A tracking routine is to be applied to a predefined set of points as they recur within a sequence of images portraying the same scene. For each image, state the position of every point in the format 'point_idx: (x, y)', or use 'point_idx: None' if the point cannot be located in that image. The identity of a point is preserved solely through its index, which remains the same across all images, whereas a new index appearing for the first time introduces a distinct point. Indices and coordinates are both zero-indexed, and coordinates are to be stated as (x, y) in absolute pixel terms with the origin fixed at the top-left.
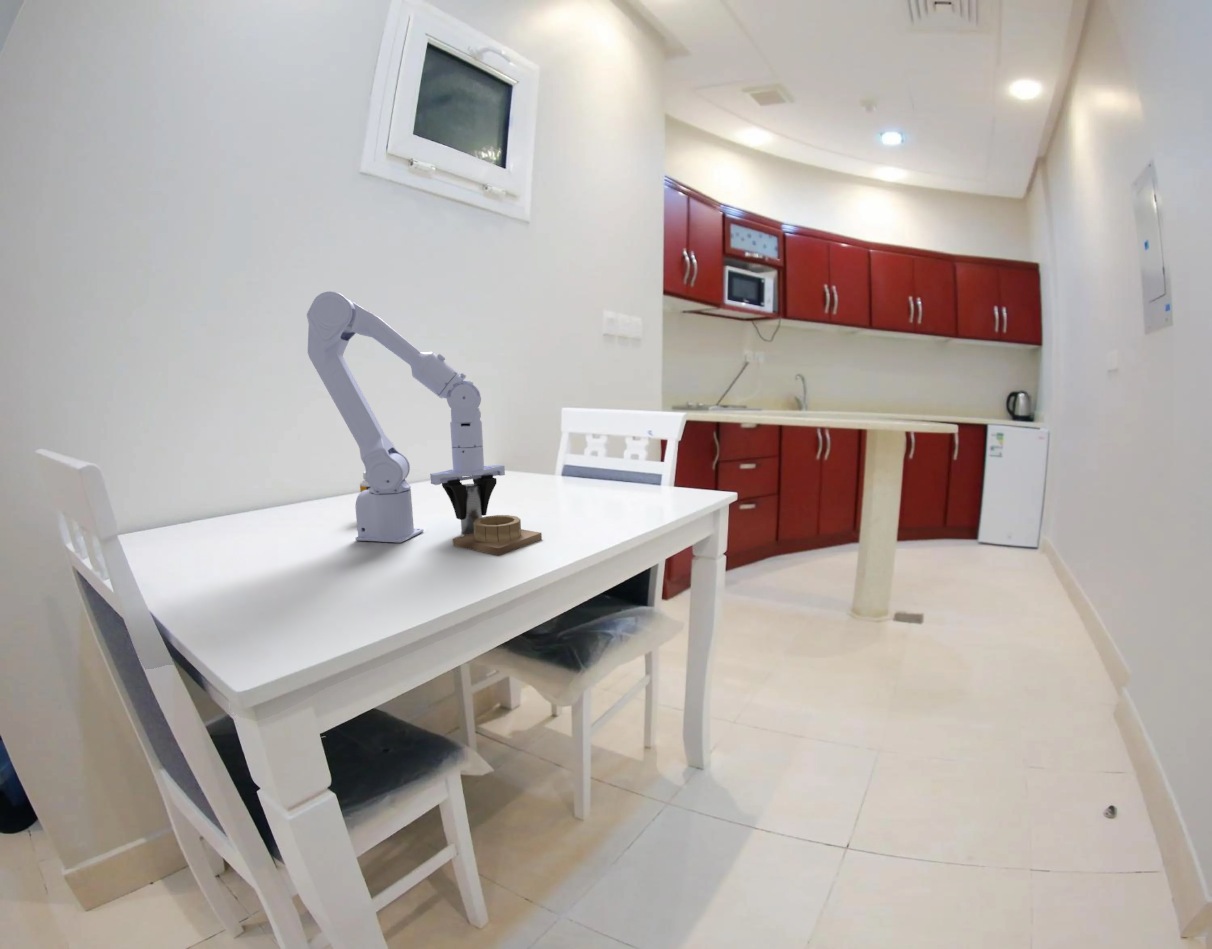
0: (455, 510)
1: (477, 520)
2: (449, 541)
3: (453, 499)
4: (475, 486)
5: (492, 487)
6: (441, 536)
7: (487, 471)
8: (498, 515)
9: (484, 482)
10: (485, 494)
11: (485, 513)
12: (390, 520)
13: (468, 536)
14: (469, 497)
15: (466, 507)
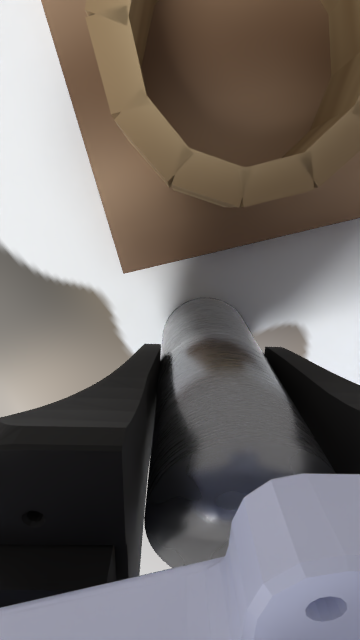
0: None
1: (336, 151)
2: (348, 278)
3: None
4: (237, 457)
5: (61, 406)
6: (320, 360)
7: (37, 631)
8: (165, 165)
9: (129, 474)
10: (141, 389)
11: (147, 345)
12: None
13: (335, 189)
14: (279, 396)
15: (273, 371)
